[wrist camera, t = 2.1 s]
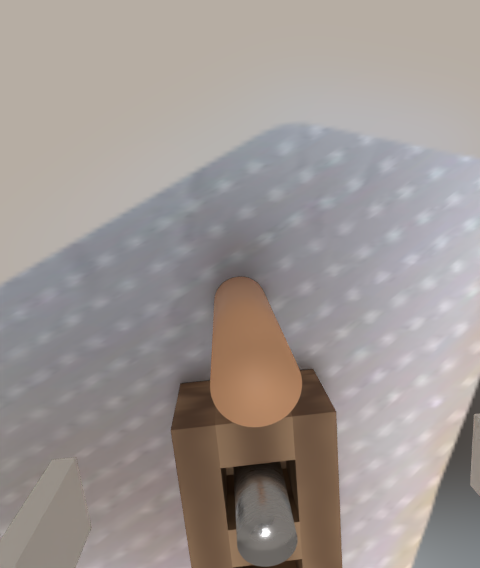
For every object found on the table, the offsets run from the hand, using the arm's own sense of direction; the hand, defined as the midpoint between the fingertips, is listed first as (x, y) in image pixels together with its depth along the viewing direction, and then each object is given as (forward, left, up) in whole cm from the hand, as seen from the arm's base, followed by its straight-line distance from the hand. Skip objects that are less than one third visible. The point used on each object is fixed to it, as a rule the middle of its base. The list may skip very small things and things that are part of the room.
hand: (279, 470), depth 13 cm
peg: (0, 0, -21) cm, 21 cm away
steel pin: (0, -13, -20) cm, 24 cm away
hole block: (0, -18, -21) cm, 27 cm away
